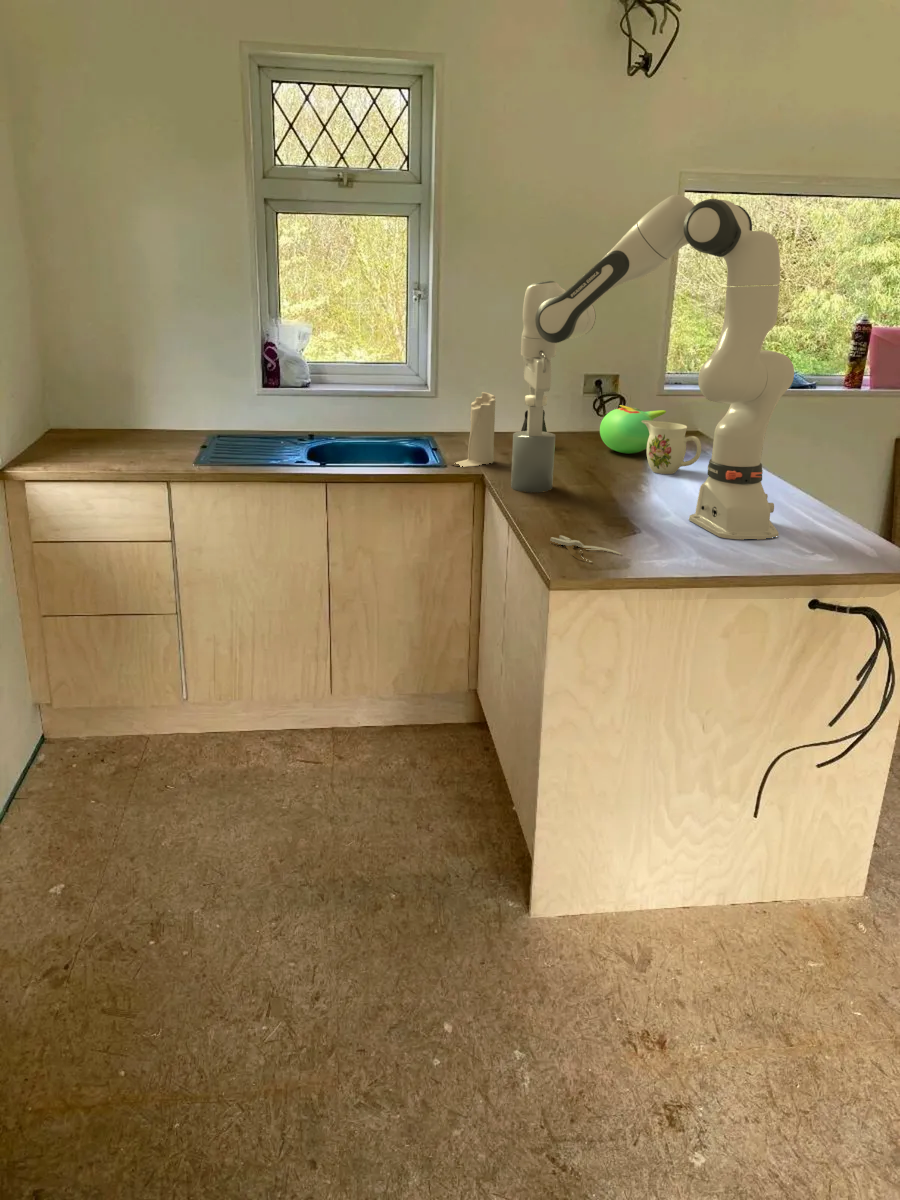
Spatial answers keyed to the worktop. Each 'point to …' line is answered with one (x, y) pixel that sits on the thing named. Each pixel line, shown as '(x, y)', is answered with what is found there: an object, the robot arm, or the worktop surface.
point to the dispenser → (533, 455)
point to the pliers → (578, 544)
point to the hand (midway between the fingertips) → (535, 404)
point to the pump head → (530, 400)
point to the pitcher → (668, 446)
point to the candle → (481, 431)
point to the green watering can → (627, 429)
